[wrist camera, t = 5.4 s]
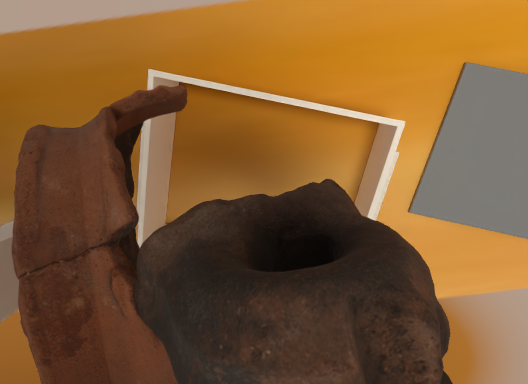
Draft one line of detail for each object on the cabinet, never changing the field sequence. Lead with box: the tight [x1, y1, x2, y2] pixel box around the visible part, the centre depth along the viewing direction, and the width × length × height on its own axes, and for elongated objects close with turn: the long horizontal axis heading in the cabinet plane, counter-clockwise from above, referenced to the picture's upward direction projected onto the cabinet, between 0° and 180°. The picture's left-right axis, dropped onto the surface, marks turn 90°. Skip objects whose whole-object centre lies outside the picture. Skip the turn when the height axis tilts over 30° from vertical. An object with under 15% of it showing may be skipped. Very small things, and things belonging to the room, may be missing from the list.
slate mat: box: [408, 63, 528, 239], centre depth 22 cm, size 12×12×1 cm
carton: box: [137, 69, 405, 248], centre depth 22 cm, size 18×14×7 cm
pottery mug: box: [12, 85, 450, 384], centre depth 8 cm, size 12×9×8 cm
